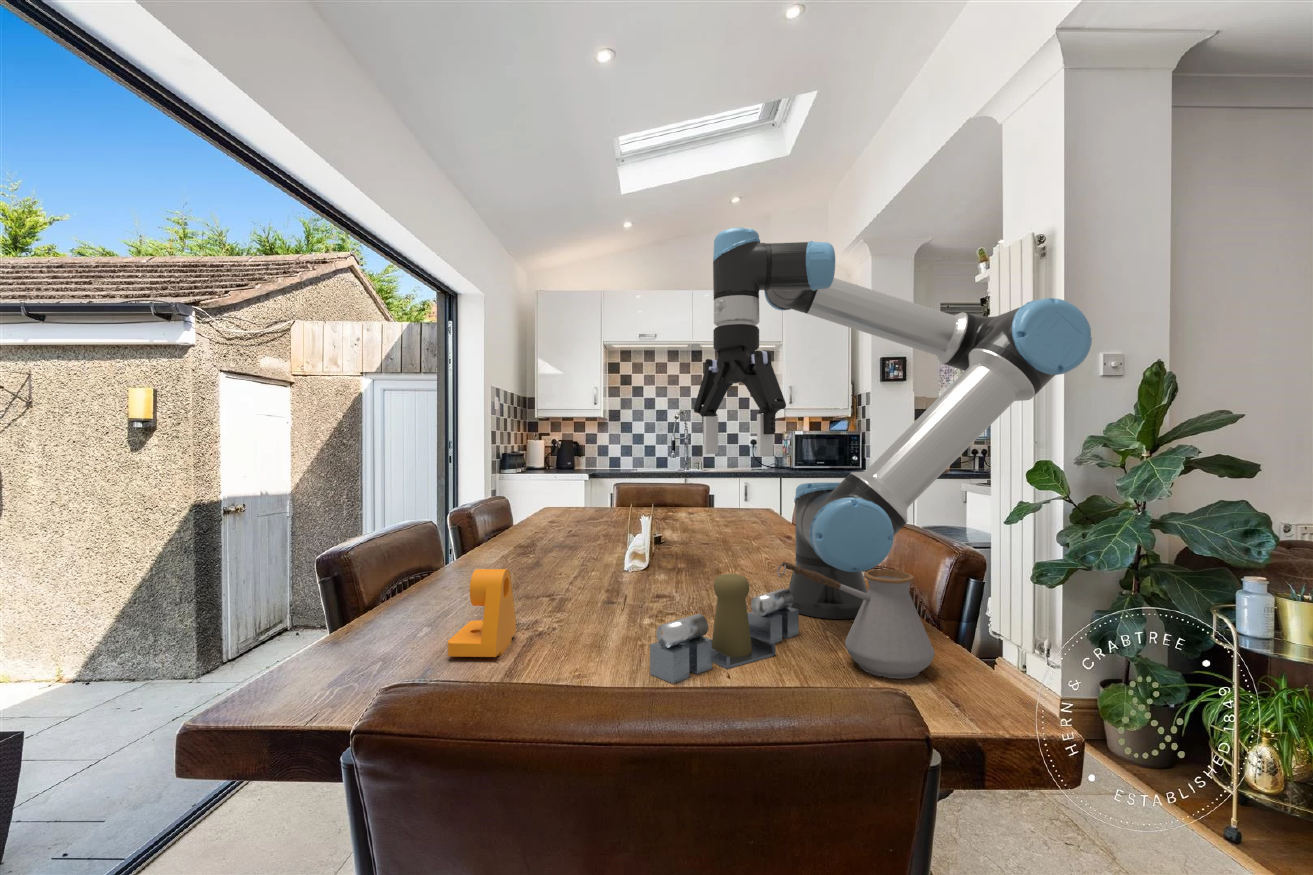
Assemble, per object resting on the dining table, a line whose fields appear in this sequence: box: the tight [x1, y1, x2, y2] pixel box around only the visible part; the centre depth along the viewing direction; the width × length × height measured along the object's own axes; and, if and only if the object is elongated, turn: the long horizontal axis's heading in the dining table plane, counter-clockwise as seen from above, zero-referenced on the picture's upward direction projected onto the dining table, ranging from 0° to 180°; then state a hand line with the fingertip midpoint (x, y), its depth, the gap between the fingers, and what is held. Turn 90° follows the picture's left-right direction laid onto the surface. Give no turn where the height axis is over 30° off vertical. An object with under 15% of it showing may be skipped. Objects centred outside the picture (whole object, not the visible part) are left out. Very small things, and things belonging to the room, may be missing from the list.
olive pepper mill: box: [711, 573, 752, 657], centre depth 90 cm, size 6×6×11 cm
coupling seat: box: [712, 634, 777, 670], centre depth 90 cm, size 9×9×2 cm
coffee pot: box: [777, 561, 936, 680], centre depth 83 cm, size 21×12×15 cm, turn 97°
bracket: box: [447, 568, 517, 658], centre depth 92 cm, size 11×7×12 cm, turn 178°
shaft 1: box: [649, 613, 713, 684], centre depth 82 cm, size 8×4×7 cm, turn 133°
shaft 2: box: [747, 588, 800, 644], centre depth 97 cm, size 8×4×7 cm, turn 133°
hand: (736, 455), depth 101 cm, fingers open, 13 cm apart
